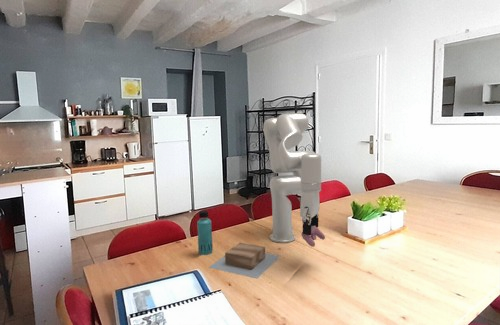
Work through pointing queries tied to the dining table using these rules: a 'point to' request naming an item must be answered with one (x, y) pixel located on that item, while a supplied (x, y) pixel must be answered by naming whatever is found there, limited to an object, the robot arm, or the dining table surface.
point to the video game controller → (313, 236)
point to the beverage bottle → (204, 234)
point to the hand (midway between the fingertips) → (310, 230)
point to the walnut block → (245, 256)
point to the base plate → (250, 273)
